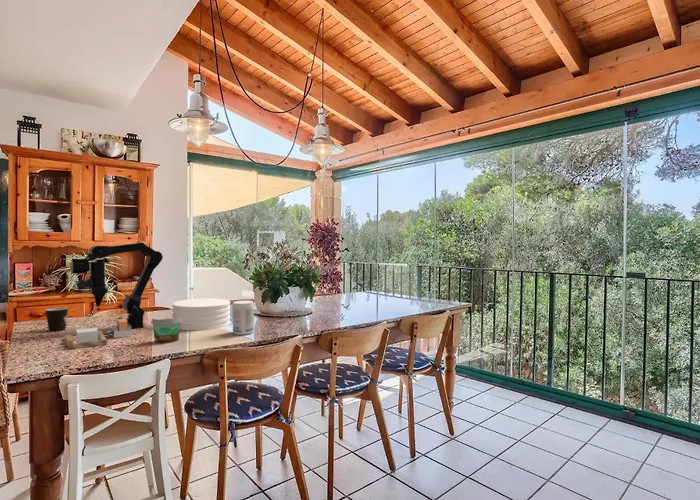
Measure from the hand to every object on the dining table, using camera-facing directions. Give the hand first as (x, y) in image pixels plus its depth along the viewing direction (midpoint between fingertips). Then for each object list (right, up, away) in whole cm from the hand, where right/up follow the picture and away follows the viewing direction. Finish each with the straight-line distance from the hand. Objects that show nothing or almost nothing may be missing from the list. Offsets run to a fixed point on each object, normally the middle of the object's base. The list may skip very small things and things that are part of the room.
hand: (97, 306), depth 192 cm
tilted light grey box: (+9, -13, -22) cm, 27 cm away
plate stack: (+41, -12, +21) cm, 47 cm away
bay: (+6, -13, -18) cm, 22 cm away
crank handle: (+14, -9, -6) cm, 18 cm away
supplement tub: (+67, -13, +3) cm, 68 cm away
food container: (+39, -13, -15) cm, 44 cm away
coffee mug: (-21, -12, +5) cm, 25 cm away
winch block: (+12, -12, -6) cm, 19 cm away
